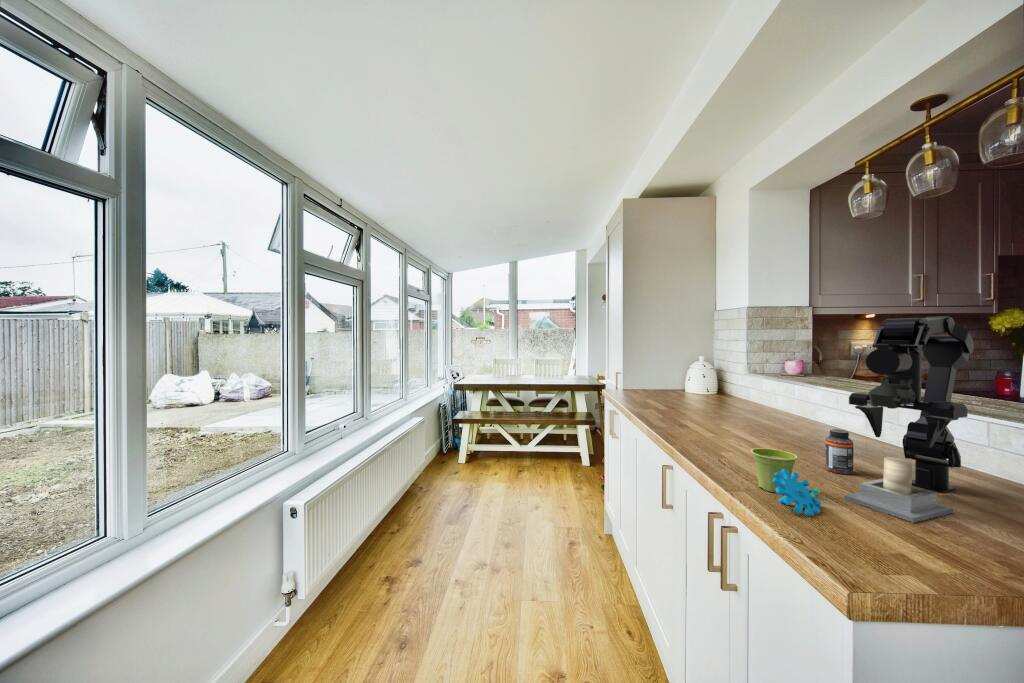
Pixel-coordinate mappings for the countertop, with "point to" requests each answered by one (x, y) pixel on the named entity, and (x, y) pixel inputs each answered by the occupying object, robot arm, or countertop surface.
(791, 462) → the plant pot
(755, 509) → the countertop surface
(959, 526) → the countertop surface
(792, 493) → the blue knobbly cluster
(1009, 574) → the countertop surface
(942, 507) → the socket plate
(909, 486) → the beech peg
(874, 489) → the socket collar
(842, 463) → the supplement bottle
